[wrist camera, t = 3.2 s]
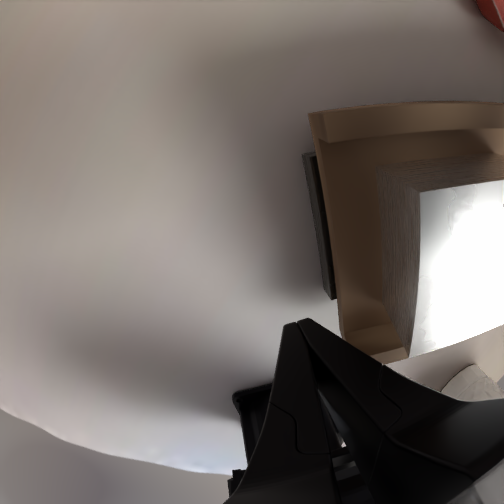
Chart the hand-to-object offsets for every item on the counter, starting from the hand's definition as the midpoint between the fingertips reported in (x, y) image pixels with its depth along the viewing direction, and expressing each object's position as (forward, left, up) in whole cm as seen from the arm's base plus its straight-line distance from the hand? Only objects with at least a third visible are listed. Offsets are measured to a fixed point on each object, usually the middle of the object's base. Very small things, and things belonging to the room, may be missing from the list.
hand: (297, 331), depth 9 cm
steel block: (+9, 0, -3) cm, 9 cm away
